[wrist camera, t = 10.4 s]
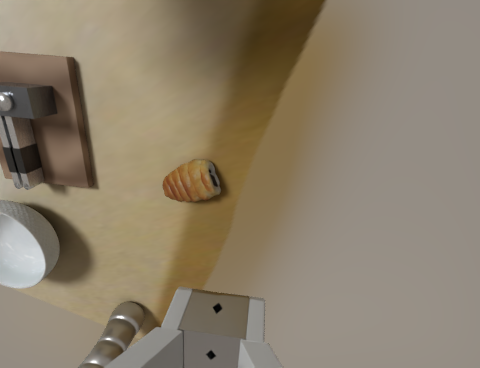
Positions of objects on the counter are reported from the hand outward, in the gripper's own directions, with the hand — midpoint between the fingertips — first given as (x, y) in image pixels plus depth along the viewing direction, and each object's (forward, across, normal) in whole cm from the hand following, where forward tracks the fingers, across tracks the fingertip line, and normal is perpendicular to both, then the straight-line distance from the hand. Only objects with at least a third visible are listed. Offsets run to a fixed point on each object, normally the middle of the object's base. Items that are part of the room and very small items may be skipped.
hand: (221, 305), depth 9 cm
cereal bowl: (+34, +42, +24) cm, 59 cm away
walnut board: (+33, +35, +3) cm, 48 cm away
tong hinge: (+32, +34, -1) cm, 46 cm away
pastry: (+34, +9, +10) cm, 36 cm away
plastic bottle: (+33, +23, +42) cm, 58 cm away
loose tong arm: (+31, +35, +7) cm, 48 cm away
